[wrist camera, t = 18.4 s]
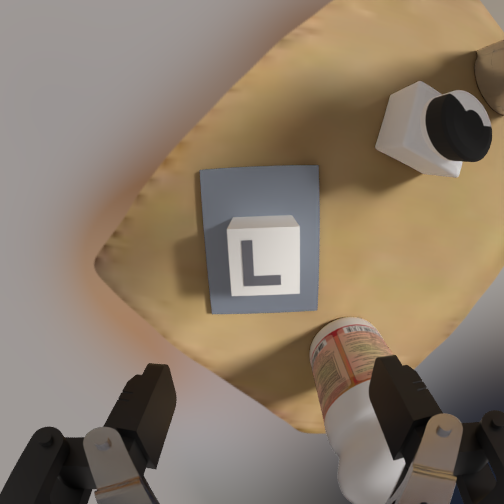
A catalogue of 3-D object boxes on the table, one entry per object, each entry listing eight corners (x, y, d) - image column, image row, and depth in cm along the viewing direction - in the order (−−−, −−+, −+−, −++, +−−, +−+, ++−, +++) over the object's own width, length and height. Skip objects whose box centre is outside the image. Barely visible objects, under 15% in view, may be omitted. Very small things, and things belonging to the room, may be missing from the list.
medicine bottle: (423, 174, 29) (491, 183, 17) (373, 149, 28) (431, 142, 17) (438, 122, 27) (505, 112, 15) (389, 93, 27) (448, 65, 15)
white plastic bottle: (367, 301, 33) (493, 502, 6) (384, 355, 36) (472, 528, 9) (296, 334, 35) (337, 569, 8) (322, 383, 37) (364, 574, 10)
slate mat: (201, 169, 30) (199, 170, 29) (317, 165, 29) (318, 165, 28) (213, 311, 34) (212, 314, 33) (316, 307, 34) (317, 310, 33)
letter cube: (236, 273, 32) (231, 297, 26) (233, 217, 30) (226, 229, 24) (292, 271, 32) (299, 295, 26) (291, 215, 30) (299, 226, 24)
